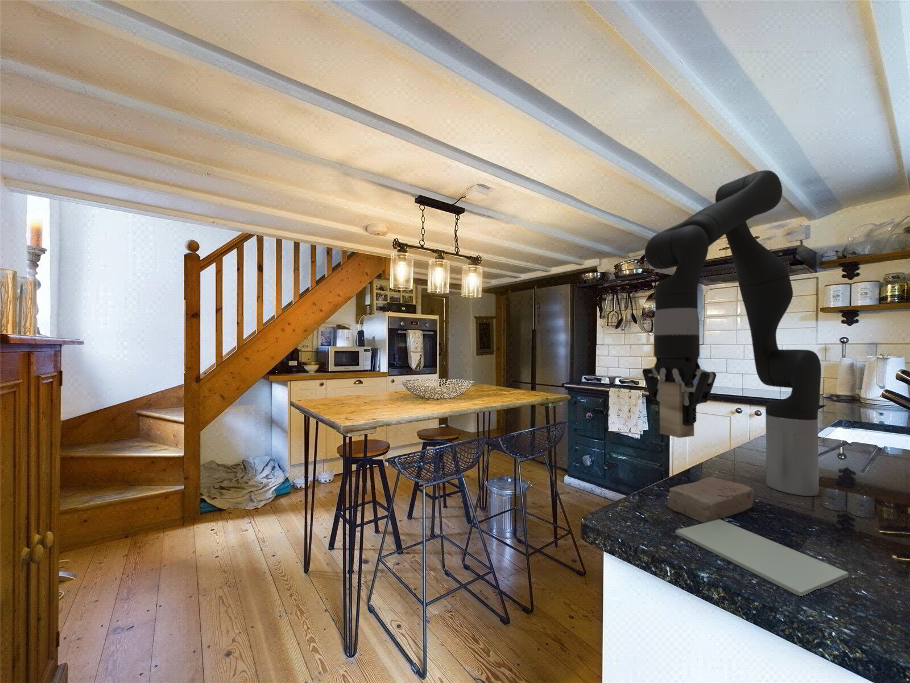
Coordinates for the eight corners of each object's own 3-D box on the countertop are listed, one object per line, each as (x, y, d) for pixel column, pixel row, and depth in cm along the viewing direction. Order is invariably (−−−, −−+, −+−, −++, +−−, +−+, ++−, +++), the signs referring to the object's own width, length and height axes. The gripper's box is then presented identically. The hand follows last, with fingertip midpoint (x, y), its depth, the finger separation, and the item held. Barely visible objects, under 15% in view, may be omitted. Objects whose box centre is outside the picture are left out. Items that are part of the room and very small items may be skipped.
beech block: (674, 431, 73) (674, 380, 73) (694, 436, 69) (693, 381, 69) (659, 433, 71) (659, 380, 71) (679, 437, 67) (678, 382, 68)
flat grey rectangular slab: (719, 522, 70) (719, 519, 70) (848, 576, 53) (848, 572, 53) (675, 533, 66) (675, 530, 66) (801, 596, 49) (801, 592, 49)
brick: (707, 525, 69) (707, 500, 70) (665, 508, 77) (665, 485, 77) (755, 510, 77) (755, 487, 77) (712, 495, 84) (712, 475, 84)
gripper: (728, 332, 65) (729, 429, 65) (657, 335, 78) (658, 415, 78) (699, 331, 62) (700, 432, 62) (631, 334, 76) (631, 417, 75)
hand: (676, 422), depth 70 cm, fingers closed on beech block, 4 cm apart
